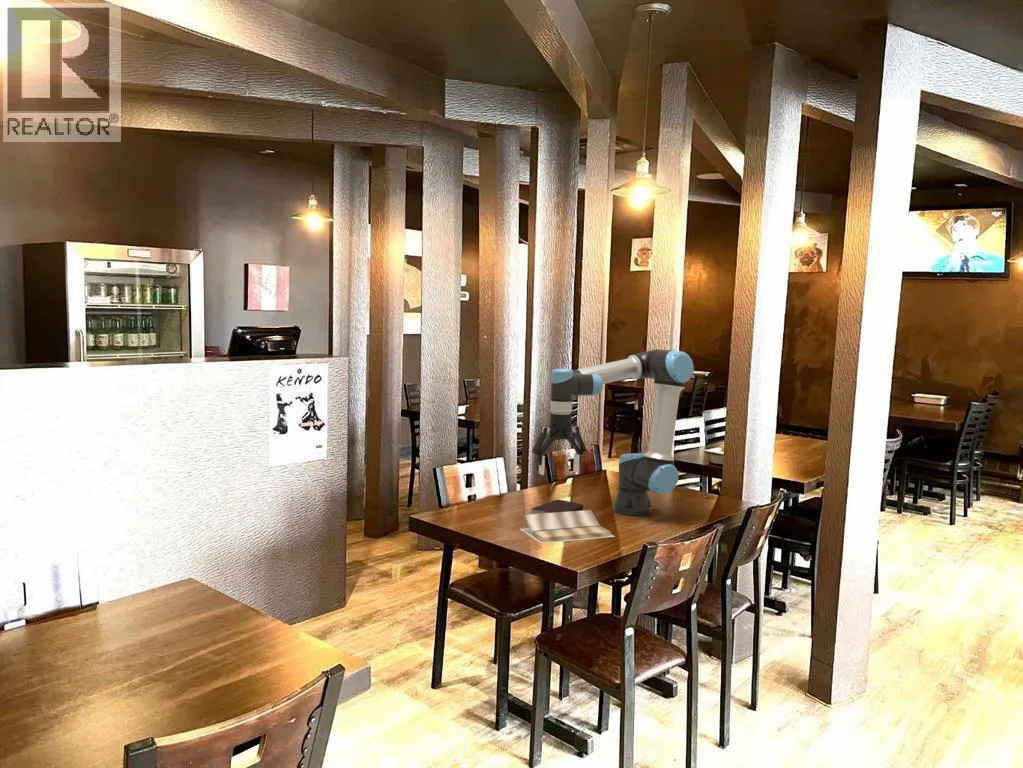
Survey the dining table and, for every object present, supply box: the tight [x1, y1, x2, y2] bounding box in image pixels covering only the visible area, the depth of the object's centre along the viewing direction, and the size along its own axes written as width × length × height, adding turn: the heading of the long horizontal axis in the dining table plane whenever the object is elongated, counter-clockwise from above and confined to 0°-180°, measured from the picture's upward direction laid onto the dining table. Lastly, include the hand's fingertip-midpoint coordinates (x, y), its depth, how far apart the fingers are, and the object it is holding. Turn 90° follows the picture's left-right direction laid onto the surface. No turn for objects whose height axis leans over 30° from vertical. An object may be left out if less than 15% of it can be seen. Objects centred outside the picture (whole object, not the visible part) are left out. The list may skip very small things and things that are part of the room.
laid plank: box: [533, 525, 612, 542], centre depth 257 cm, size 26×8×2 cm, turn 112°
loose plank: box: [523, 509, 601, 534], centre depth 264 cm, size 26×8×2 cm, turn 112°
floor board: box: [519, 527, 616, 544], centre depth 261 cm, size 28×18×1 cm, turn 112°
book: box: [530, 499, 584, 514], centre depth 293 cm, size 12×19×3 cm, turn 145°
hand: (559, 473), depth 265 cm, fingers open, 13 cm apart
